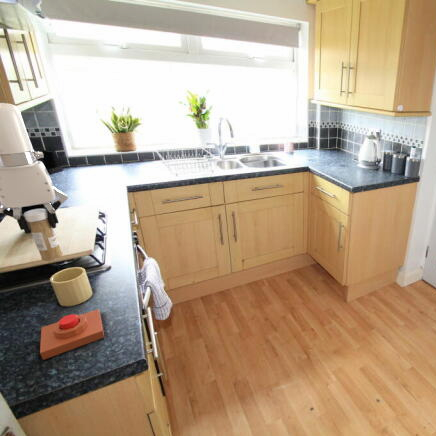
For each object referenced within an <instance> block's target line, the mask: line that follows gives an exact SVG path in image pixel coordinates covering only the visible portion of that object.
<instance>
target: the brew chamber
mask: <svg viewBox="0 0 436 436" xmlns="http://www.w3.org/2000/svg"><path fill="white" fill-rule="evenodd" d="M49 281H50V285H51V286H52V289H53V291H54V294H55V297H56V300H57V302H58V304H59V305H60V306H62V307H73V306H77V305H80V304H82V303H84V302H86V301H88V300H89V299H90V298H91V297H92V296H93V289H92V286H91V283H90V280H89V277H88V273H87V271H86V269H85V268H84V267H81V266H75V267H68V268H65V269H62V270H60V271H57V272H55V273H54V274H53V275H51V277H50V278H49Z"/></svg>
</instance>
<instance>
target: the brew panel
mask: <svg viewBox="0 0 436 436" xmlns="http://www.w3.org/2000/svg"><path fill="white" fill-rule="evenodd" d="M76 315H77V318H78V320H79V323H78V325H76V326H75V327H73V328H70V329H67V330H63V329H61V327H60V325H59V321H57V322H54V323H50V324H48V325H45V326H42V327H41V330H40V344H39V345H40V346H39V348H40V350H39V354H40V356H41V359H42V360H43V361H44V360H47V359H49V358H53V357H55V356H59V355H61V354H63V353H66V352H68V351H71V350H74V349H76V348H79V347H82V346H85V345H88V344H90V343H93V342H96V341H98V340H101V339H104V338H105V332H104V326H103V321H102V320H103V319H102V315H101V311H100V309H99V308H97V309H94V310H91V311H88V312H85V313H82V314H76Z"/></svg>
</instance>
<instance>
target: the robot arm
mask: <svg viewBox="0 0 436 436" xmlns="http://www.w3.org/2000/svg"><path fill="white" fill-rule="evenodd" d="M41 158H44V153H43V151H36V150H35V149H34V147H33V145H32V142H31V140H30V136H29V134H28V130H27V128H26V125H25V122H24V119H23V116H22V113H21V111H20V109H19V108H18V106H16V105H15V104H13V103H8V102H0V214H4V215H6V216H8V217H11V218H13V219H14V220H16V222H17V224H18V226H19V230H21V231H23V230H24V233H25V234H29V233H31V230H30V228H29V225H28V223H27V221H26V220H25V218H24V213H22V208H24V207H31V206H37V205H43V206H44V208H45V209H46V210H47V212H48V217H49V220H50V223H51V226H52V228H53V229H56V228H57V224H59V219H58V216H57V213H56V211H58V209H59V207H61V205H62V204H63V203H65V202H66V201H67V200H68V198H69V197H68V195H67V194H66V193H64V192H62V191H61V190H60V189H58V188H56V187H55V185H54V183H53V181H52V178H51V176H50V173H49V172H48V169H47V168H46V166H45V164H44V163H43V161H41V160H39V159H41ZM56 198H57V199H56Z"/></svg>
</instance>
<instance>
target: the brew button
mask: <svg viewBox="0 0 436 436" xmlns="http://www.w3.org/2000/svg"><path fill="white" fill-rule="evenodd" d="M77 315H78V314H74V313H72V314H67V315H65V316H63V317H61V318H60V320H58V322H59V325H60V327H61V329H63V330H67V329H70V328H73V327H75V326H76V325H78V323H79V320H78V318H77Z"/></svg>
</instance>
